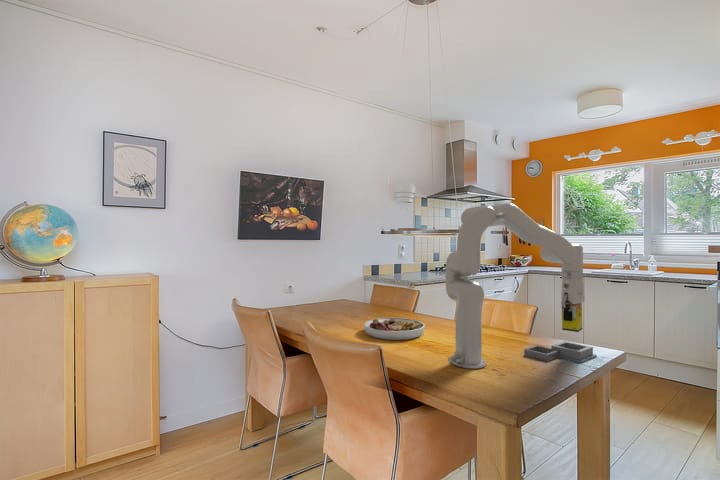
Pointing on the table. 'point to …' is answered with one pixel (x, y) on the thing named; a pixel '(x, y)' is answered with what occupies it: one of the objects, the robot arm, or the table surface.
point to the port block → (574, 351)
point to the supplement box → (573, 319)
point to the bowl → (394, 328)
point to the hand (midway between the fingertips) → (572, 319)
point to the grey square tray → (542, 353)
